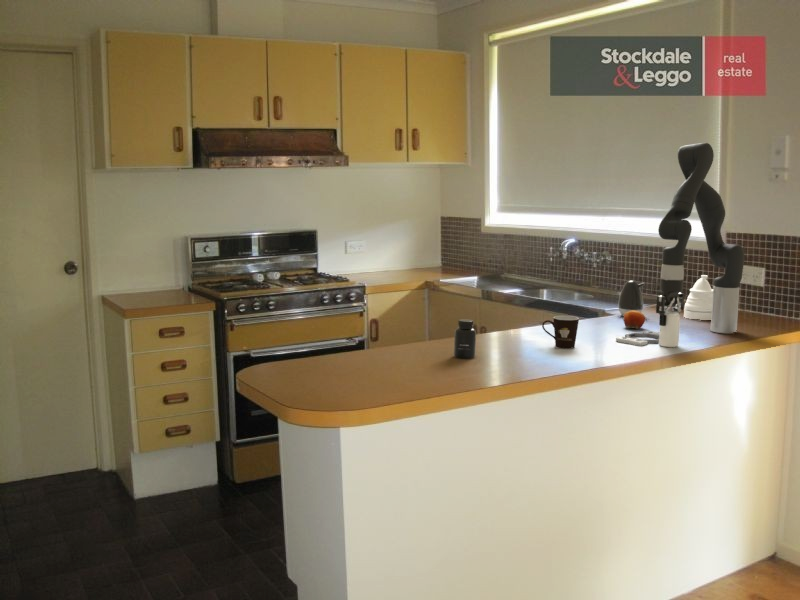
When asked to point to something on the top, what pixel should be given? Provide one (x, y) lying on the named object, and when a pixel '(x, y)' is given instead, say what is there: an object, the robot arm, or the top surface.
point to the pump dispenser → (631, 297)
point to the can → (670, 330)
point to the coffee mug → (564, 331)
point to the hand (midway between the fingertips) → (669, 324)
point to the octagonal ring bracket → (639, 341)
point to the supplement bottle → (465, 340)
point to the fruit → (634, 319)
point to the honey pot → (699, 300)
